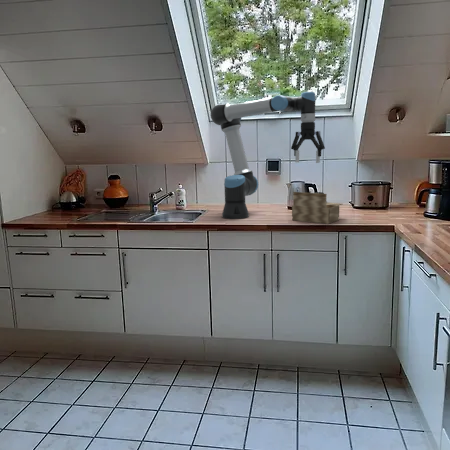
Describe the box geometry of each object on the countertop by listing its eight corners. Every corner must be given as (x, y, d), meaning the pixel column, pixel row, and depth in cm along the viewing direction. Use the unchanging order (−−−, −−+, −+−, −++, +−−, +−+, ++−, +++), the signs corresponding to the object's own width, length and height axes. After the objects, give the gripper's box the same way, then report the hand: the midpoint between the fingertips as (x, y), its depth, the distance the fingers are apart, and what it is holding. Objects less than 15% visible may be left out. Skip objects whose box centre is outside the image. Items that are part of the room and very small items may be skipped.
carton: (291, 220, 242) (291, 205, 240) (308, 215, 256) (308, 201, 254) (329, 224, 228) (329, 208, 226) (345, 218, 242) (345, 203, 241)
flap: (293, 205, 238) (293, 191, 237) (293, 205, 239) (293, 191, 237) (325, 208, 227) (326, 193, 225) (326, 207, 227) (326, 193, 226)
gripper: (284, 122, 245) (284, 162, 249) (325, 120, 229) (324, 163, 234) (292, 122, 250) (291, 161, 255) (331, 121, 235) (330, 162, 239)
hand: (307, 162), depth 244 cm, fingers open, 12 cm apart
